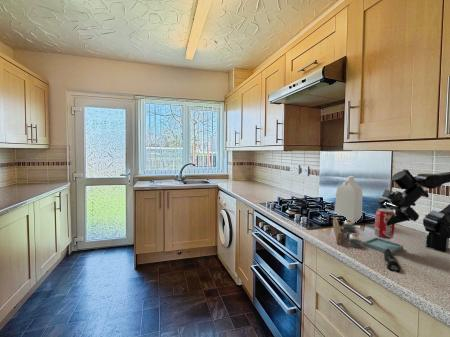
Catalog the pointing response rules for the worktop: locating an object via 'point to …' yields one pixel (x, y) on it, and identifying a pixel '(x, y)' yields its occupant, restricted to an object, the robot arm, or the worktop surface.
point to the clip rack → (346, 229)
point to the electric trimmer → (391, 261)
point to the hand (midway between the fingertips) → (381, 222)
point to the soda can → (384, 223)
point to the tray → (382, 245)
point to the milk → (349, 200)
